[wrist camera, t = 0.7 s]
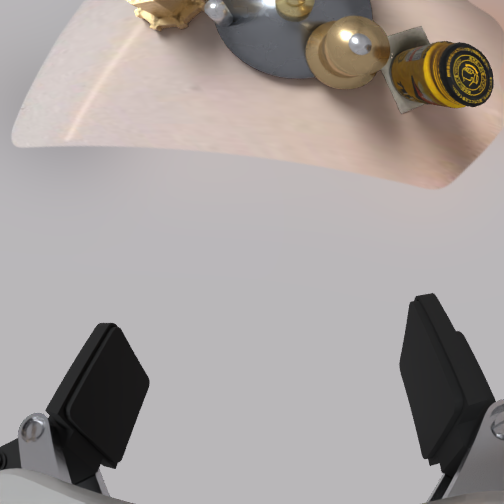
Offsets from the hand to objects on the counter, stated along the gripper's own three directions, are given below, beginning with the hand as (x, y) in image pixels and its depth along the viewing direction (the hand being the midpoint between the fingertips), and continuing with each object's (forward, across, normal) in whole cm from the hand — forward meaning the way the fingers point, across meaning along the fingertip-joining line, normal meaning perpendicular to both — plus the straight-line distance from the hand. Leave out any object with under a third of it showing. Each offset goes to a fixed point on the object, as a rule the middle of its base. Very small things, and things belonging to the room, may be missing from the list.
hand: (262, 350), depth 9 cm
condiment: (+27, -16, -9) cm, 33 cm away
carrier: (+27, -6, -16) cm, 32 cm away
